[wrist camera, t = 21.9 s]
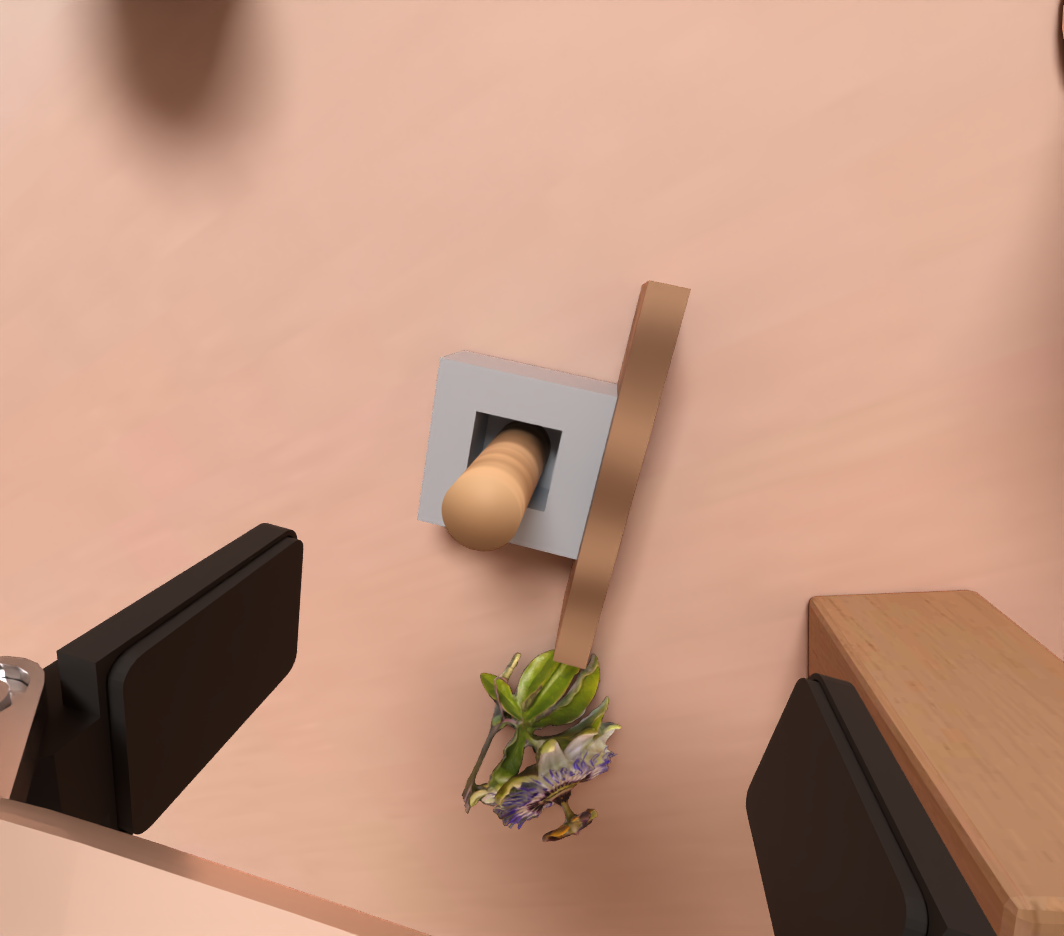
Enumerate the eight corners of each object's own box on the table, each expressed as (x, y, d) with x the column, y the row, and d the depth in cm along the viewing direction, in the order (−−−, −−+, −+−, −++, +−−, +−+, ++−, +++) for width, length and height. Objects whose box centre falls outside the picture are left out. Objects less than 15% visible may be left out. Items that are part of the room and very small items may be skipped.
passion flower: (582, 687, 47) (546, 847, 41) (472, 638, 45) (415, 798, 38) (660, 668, 39) (632, 870, 32) (529, 606, 36) (467, 808, 29)
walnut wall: (642, 285, 32) (648, 280, 26) (675, 292, 32) (690, 289, 25) (563, 600, 39) (552, 660, 32) (590, 607, 39) (585, 669, 32)
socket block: (464, 350, 35) (440, 357, 30) (617, 384, 34) (617, 397, 29) (442, 492, 38) (417, 519, 33) (581, 526, 37) (576, 559, 32)
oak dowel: (502, 413, 34) (447, 467, 23) (555, 426, 34) (527, 486, 23) (493, 464, 36) (436, 540, 24) (544, 477, 35) (511, 559, 24)
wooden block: (806, 717, 39) (986, 1108, 20) (806, 593, 36) (1015, 910, 17) (961, 716, 37) (1322, 1145, 18) (974, 586, 34) (1412, 931, 16)
